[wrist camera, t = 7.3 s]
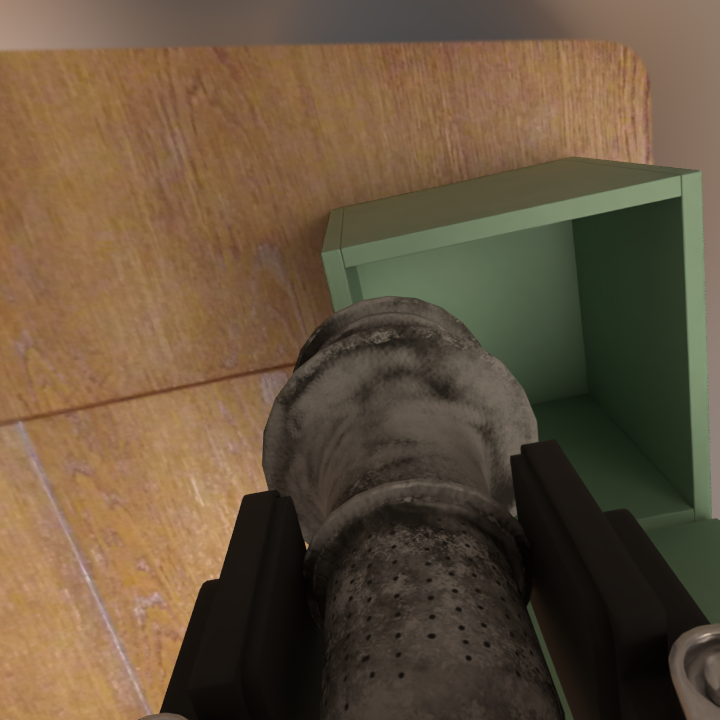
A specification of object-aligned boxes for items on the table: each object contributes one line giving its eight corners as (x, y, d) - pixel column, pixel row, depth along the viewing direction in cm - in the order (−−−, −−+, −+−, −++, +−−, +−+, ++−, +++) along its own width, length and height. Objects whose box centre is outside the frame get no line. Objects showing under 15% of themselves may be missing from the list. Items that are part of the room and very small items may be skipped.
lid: (394, 853, 13) (447, 1112, 13) (1149, 733, 12) (1208, 1008, 12) (395, 576, 29) (419, 690, 29) (716, 517, 28) (740, 634, 28)
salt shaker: (269, 289, 16) (66, 697, 5) (506, 278, 16) (891, 662, 5) (288, 494, 18) (181, 1124, 7) (498, 485, 18) (750, 1102, 7)
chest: (330, 209, 38) (320, 252, 25) (574, 156, 37) (702, 169, 24) (382, 439, 43) (396, 579, 30) (597, 396, 42) (712, 520, 29)
